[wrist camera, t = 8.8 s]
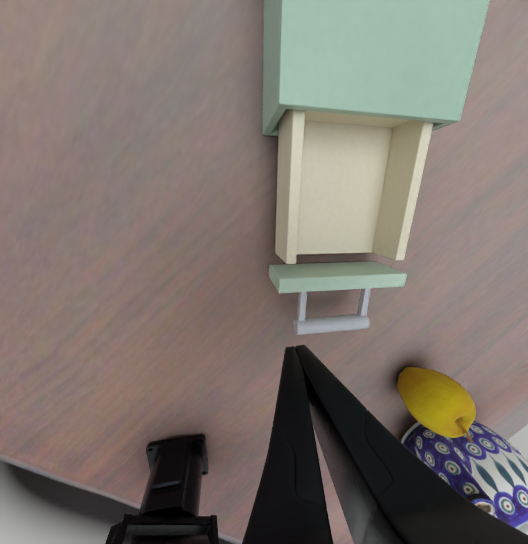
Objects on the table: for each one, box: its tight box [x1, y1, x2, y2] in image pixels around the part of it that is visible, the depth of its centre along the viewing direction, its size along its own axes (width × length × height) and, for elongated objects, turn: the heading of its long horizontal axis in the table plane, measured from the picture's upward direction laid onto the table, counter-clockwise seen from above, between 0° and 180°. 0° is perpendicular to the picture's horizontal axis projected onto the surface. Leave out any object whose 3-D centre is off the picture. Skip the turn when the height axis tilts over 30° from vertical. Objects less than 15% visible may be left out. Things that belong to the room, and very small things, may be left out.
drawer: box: [269, 109, 434, 335], centre depth 18 cm, size 18×11×4 cm, turn 179°
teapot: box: [401, 421, 528, 535], centre depth 27 cm, size 25×15×15 cm, turn 41°
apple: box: [397, 367, 476, 443], centre depth 25 cm, size 6×6×8 cm
